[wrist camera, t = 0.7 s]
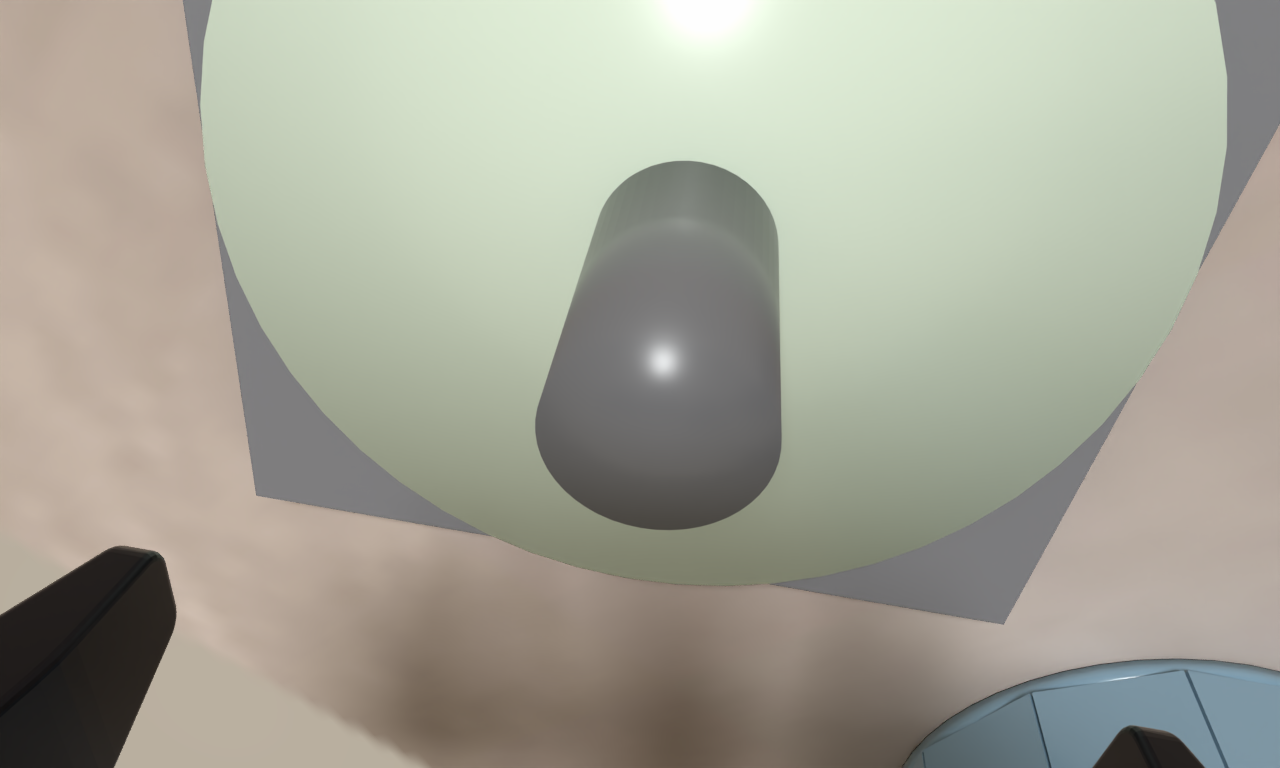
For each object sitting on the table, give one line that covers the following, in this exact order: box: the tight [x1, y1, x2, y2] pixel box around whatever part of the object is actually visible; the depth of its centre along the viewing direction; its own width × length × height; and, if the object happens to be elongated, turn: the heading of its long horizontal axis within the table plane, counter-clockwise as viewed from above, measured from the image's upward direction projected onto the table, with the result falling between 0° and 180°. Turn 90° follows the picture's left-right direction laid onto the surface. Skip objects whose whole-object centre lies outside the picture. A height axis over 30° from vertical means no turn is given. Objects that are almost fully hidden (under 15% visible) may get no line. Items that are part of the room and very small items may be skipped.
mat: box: [183, 0, 1280, 625], centre depth 17 cm, size 17×17×1 cm
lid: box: [200, 0, 1227, 586], centre depth 14 cm, size 16×16×6 cm
